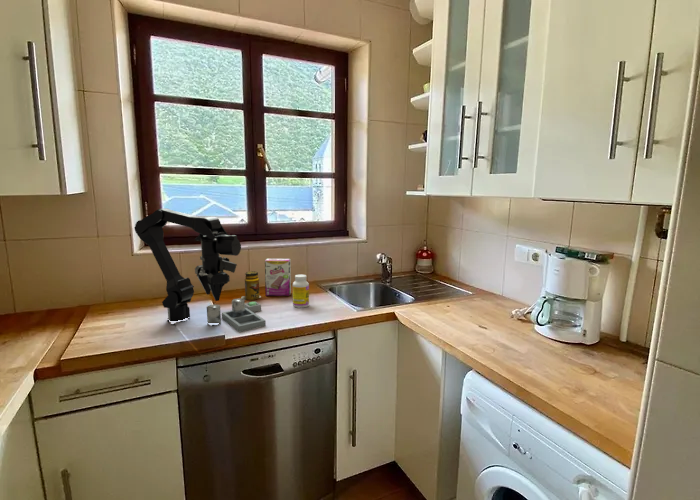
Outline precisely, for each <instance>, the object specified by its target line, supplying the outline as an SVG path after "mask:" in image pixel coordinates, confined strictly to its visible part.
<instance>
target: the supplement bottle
mask: <svg viewBox="0 0 700 500" xmlns="http://www.w3.org/2000/svg"><path fill="white" fill-rule="evenodd" d="M309 305H310V283H309V282H308V281H307V275H306V274H301V273H300V274H295V275H294V281H293V282H292V306H293V307H294V308H297V309H298V308H299V309H303V308H308V307H309Z"/></svg>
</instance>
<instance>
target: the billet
mask: <svg viewBox="0 0 700 500" xmlns="http://www.w3.org/2000/svg"><path fill="white" fill-rule="evenodd" d="M206 319H207V322H208V323H219V324H220V325H221V324H222V312H221V305H220V304H210V305H207V306H206ZM208 323H207V324H208Z"/></svg>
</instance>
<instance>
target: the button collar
mask: <svg viewBox="0 0 700 500" xmlns="http://www.w3.org/2000/svg"><path fill="white" fill-rule="evenodd" d="M255 302H256V305H253V306H249V302H246V303H245V308H247V309H249V310H250V311H252V312H253V313H257V312H260V311H261V312H262V304H261V303H260V302H257V301H255Z"/></svg>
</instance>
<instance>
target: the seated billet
mask: <svg viewBox="0 0 700 500" xmlns="http://www.w3.org/2000/svg"><path fill="white" fill-rule="evenodd" d="M245 301H246V300H244V299H241V298H240V297H239V298H233V299H232V300H231V311H232V318H235V317H240V316H245Z"/></svg>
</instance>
